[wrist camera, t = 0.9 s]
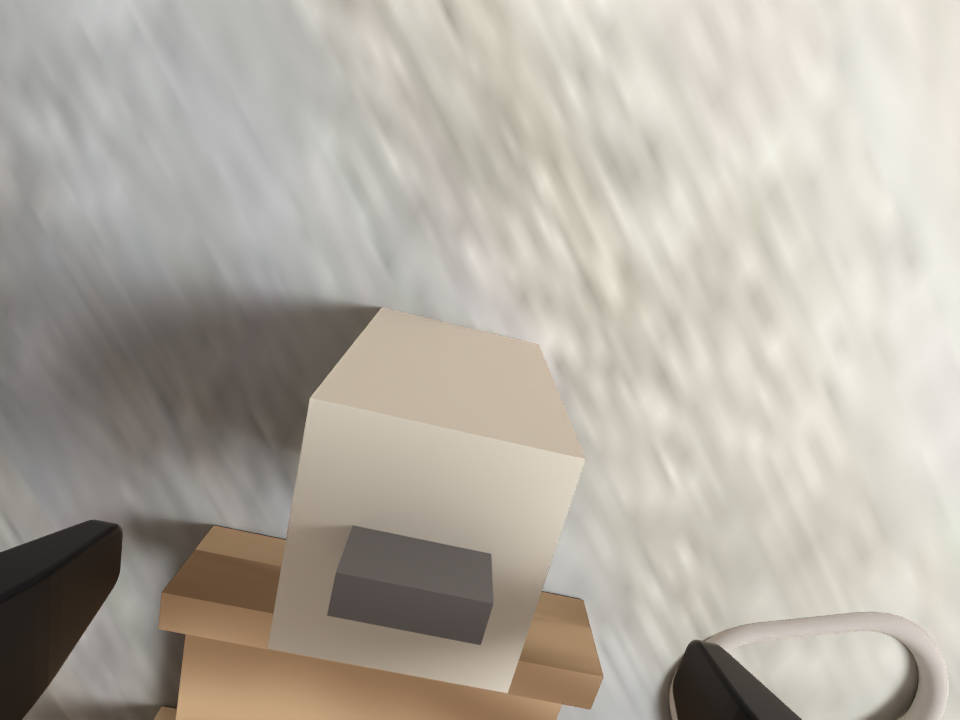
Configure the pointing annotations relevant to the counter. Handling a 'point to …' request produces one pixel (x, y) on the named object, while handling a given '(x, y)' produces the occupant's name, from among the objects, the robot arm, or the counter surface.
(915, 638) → the hook
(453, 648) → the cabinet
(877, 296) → the counter surface
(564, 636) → the board
